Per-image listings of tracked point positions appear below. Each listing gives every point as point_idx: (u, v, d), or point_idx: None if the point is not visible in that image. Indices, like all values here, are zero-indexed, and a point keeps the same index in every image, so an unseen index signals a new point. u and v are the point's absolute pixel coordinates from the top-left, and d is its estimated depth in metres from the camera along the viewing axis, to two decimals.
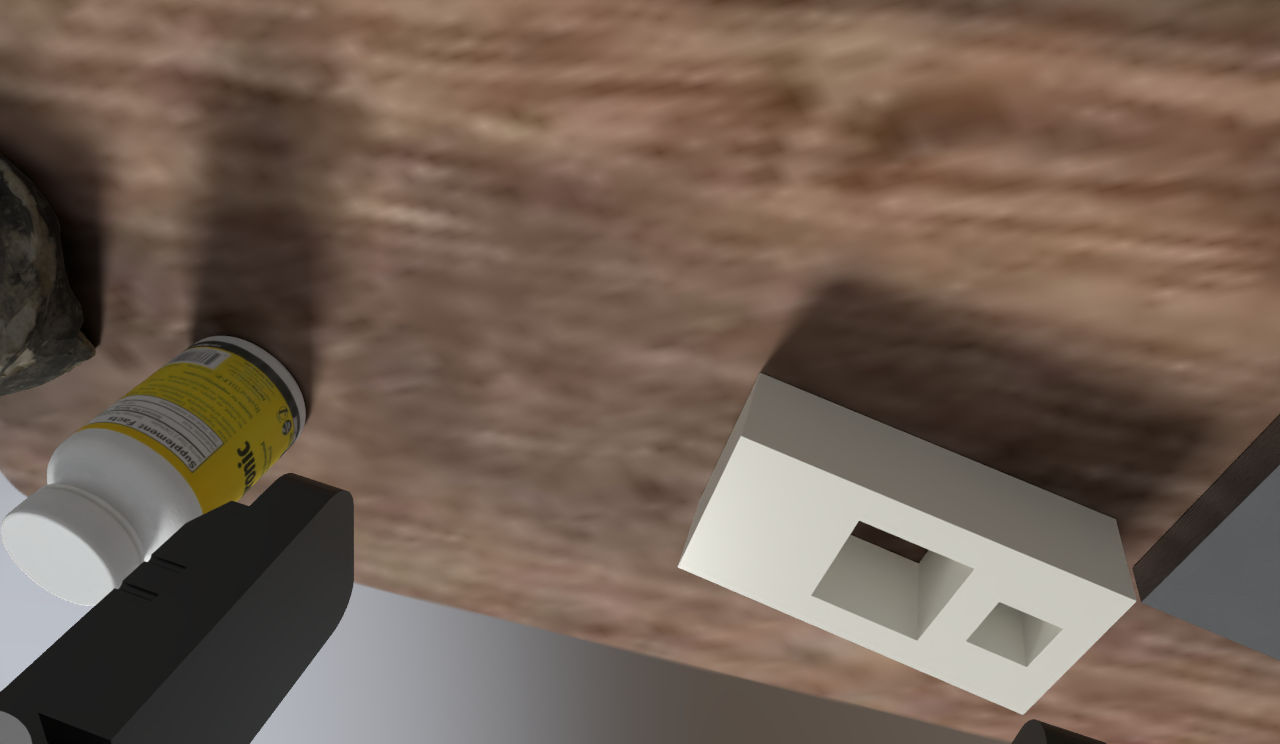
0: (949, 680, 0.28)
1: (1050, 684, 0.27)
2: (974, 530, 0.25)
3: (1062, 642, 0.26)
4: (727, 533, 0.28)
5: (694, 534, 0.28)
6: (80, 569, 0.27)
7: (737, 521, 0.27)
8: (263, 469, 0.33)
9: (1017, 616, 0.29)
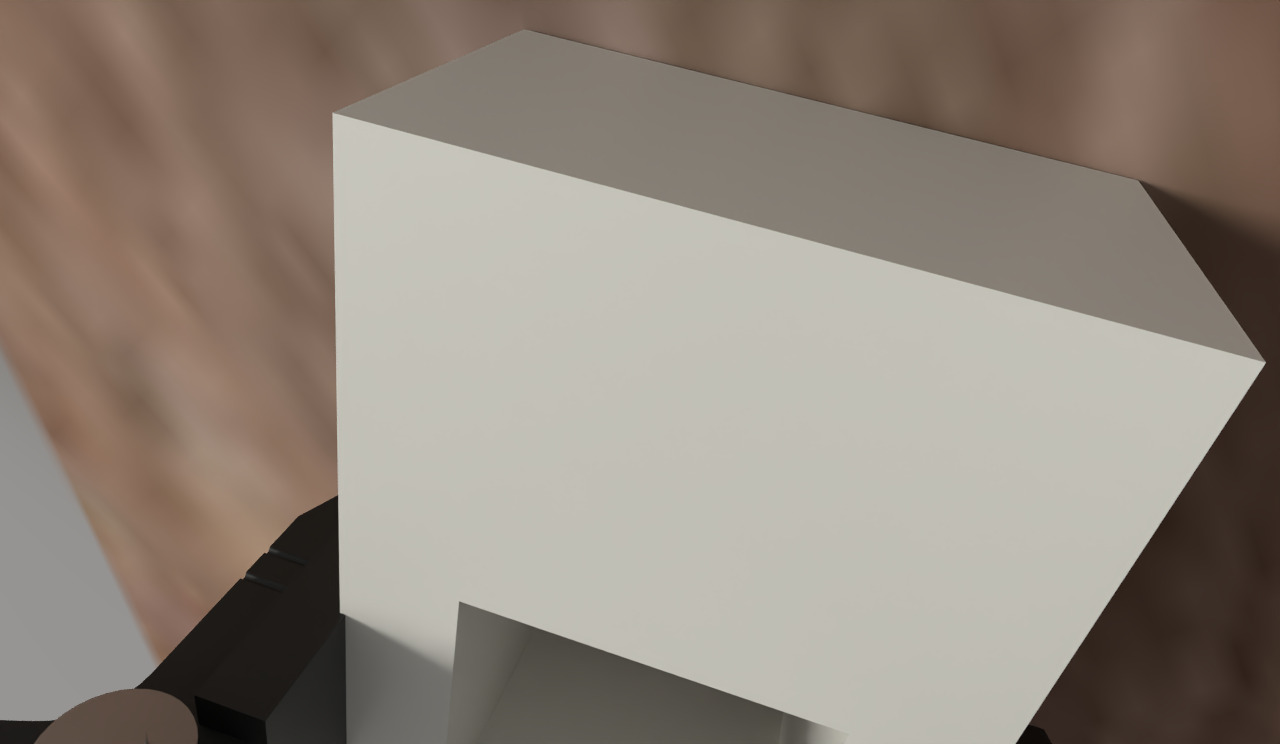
0: None
1: None
2: None
3: None
4: (629, 325, 0.06)
5: (564, 179, 0.06)
6: None
7: (715, 363, 0.06)
8: None
9: None
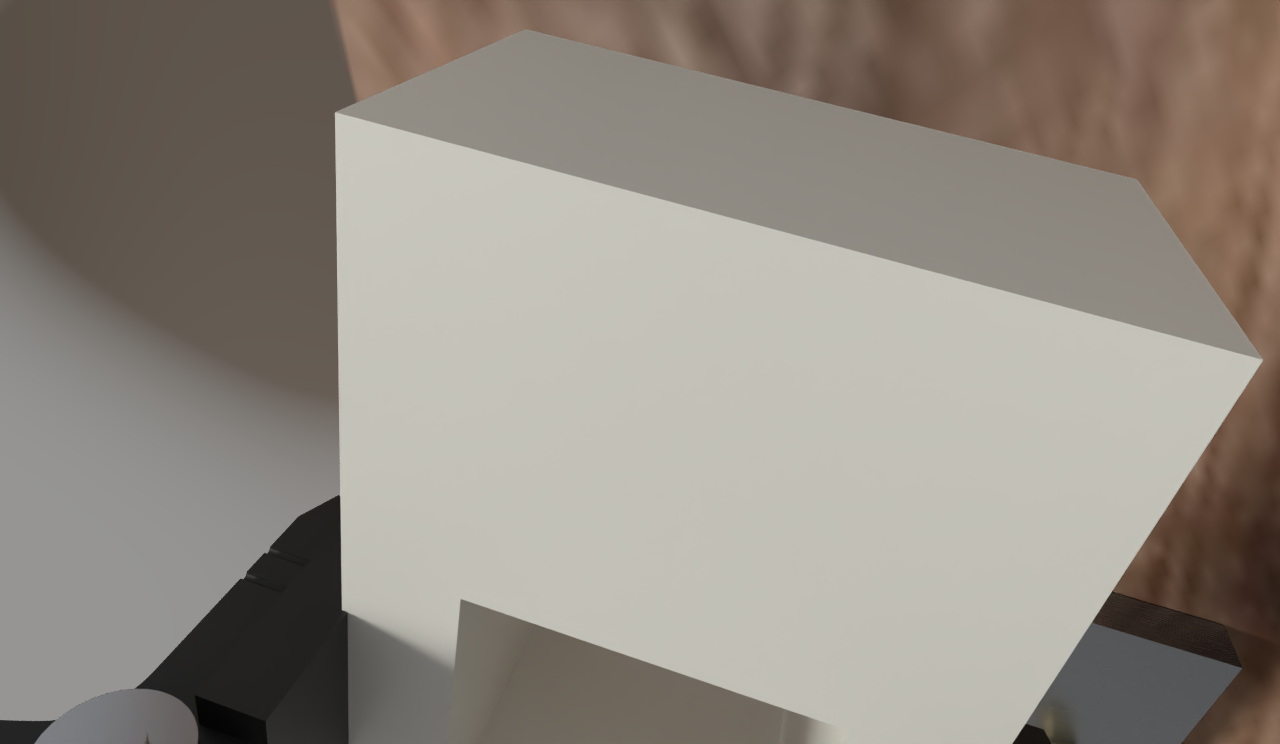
0: None
1: None
2: None
3: None
4: (632, 324, 0.06)
5: (565, 178, 0.06)
6: None
7: (714, 360, 0.06)
8: None
9: None
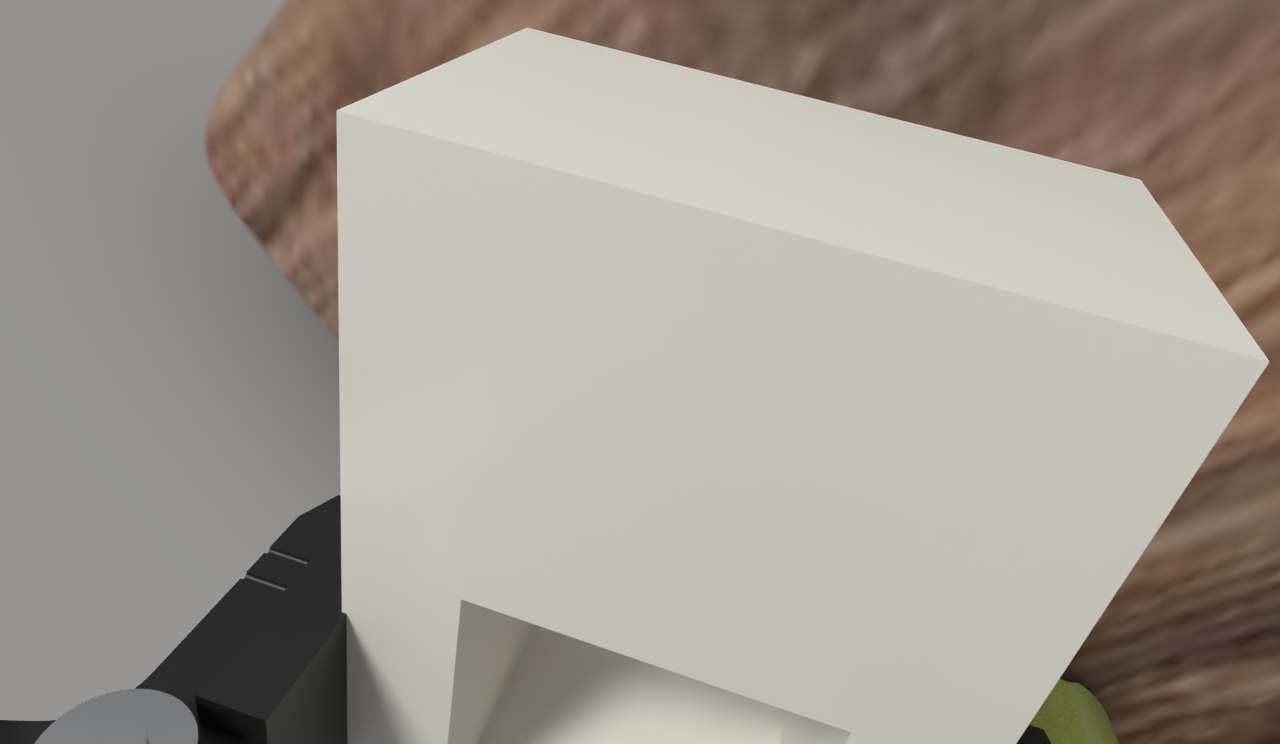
0: None
1: None
2: None
3: None
4: (635, 324, 0.06)
5: (568, 177, 0.06)
6: None
7: (719, 360, 0.06)
8: None
9: None
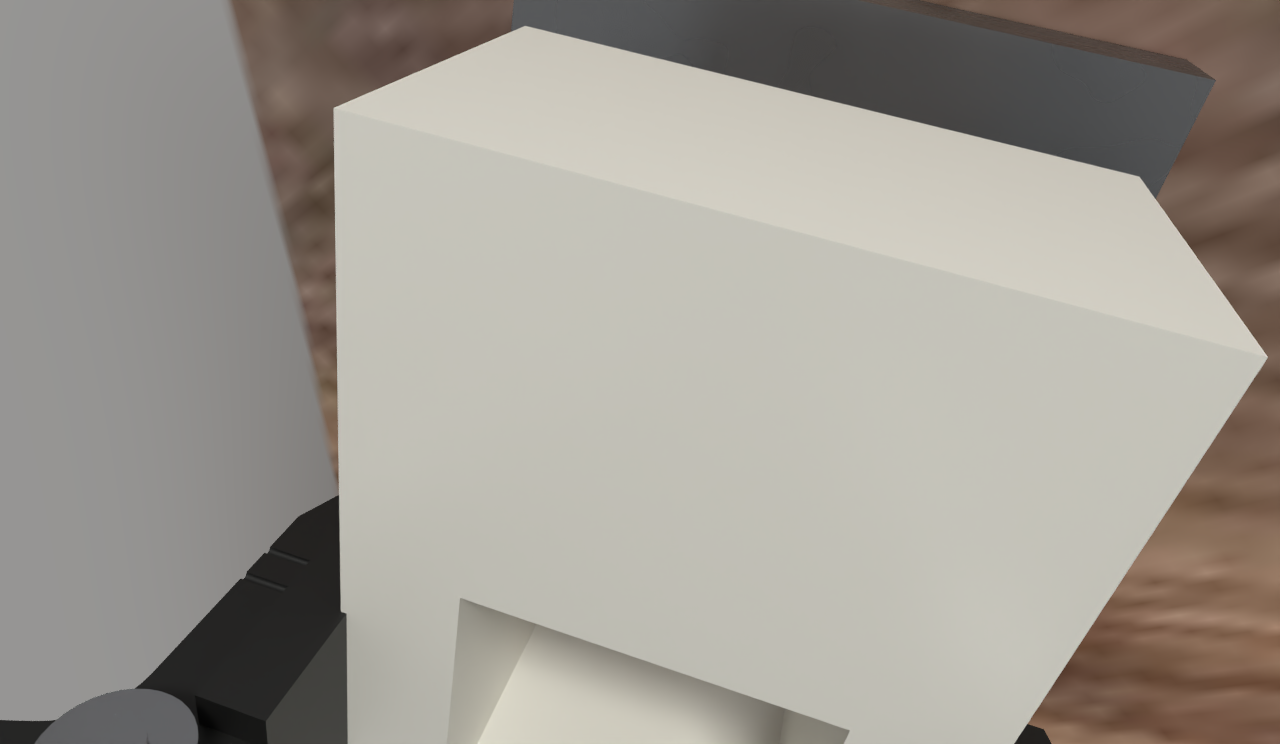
0: None
1: None
2: None
3: None
4: (632, 321, 0.06)
5: (565, 174, 0.06)
6: None
7: (716, 358, 0.06)
8: None
9: None
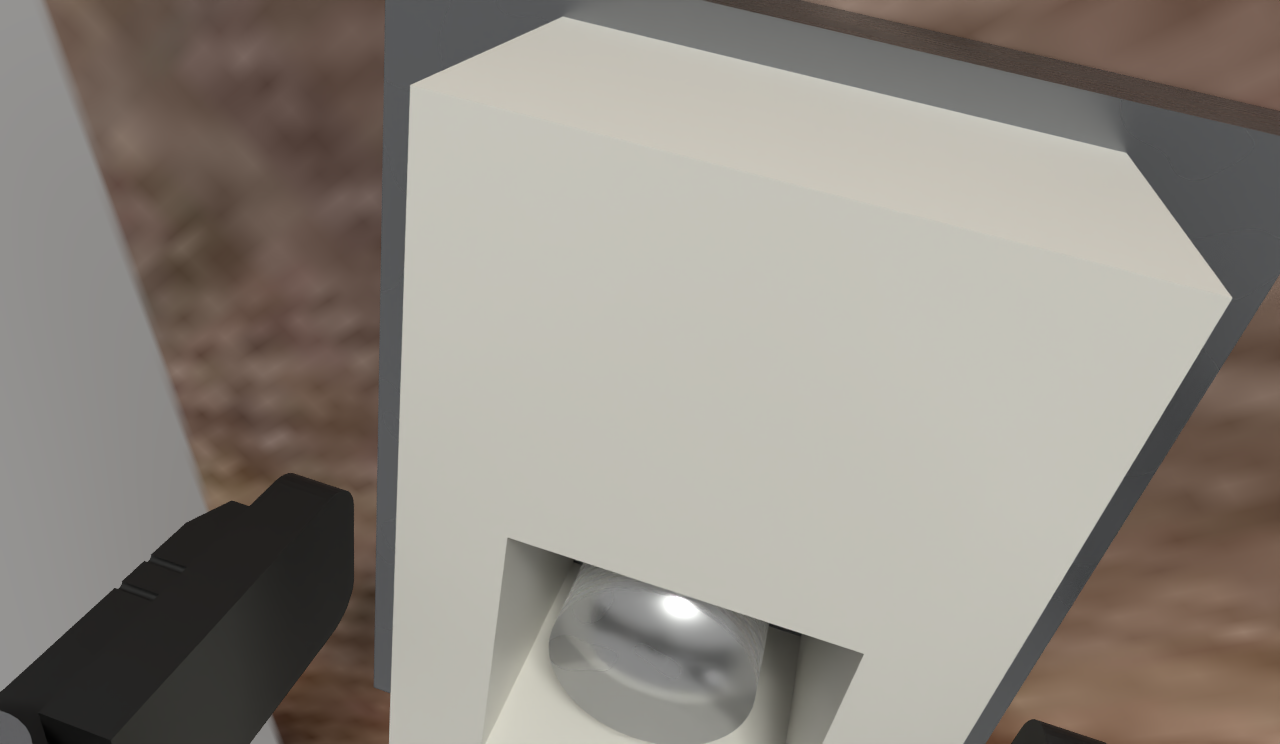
0: None
1: None
2: None
3: None
4: (673, 274, 0.07)
5: (616, 142, 0.07)
6: None
7: (748, 307, 0.07)
8: None
9: None
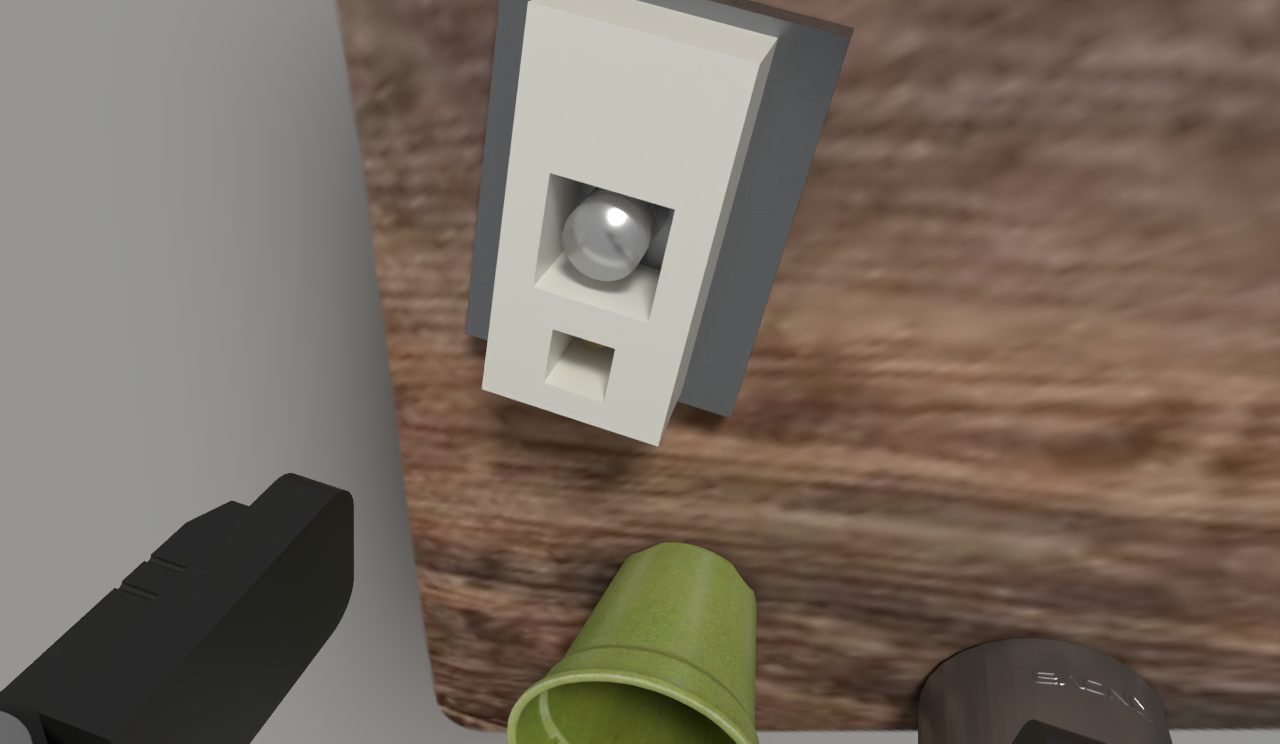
0: (494, 323, 0.27)
1: (531, 403, 0.28)
2: (693, 314, 0.25)
3: (587, 404, 0.28)
4: (607, 63, 0.22)
5: (590, 19, 0.22)
6: None
7: (630, 73, 0.22)
8: None
9: (565, 348, 0.29)
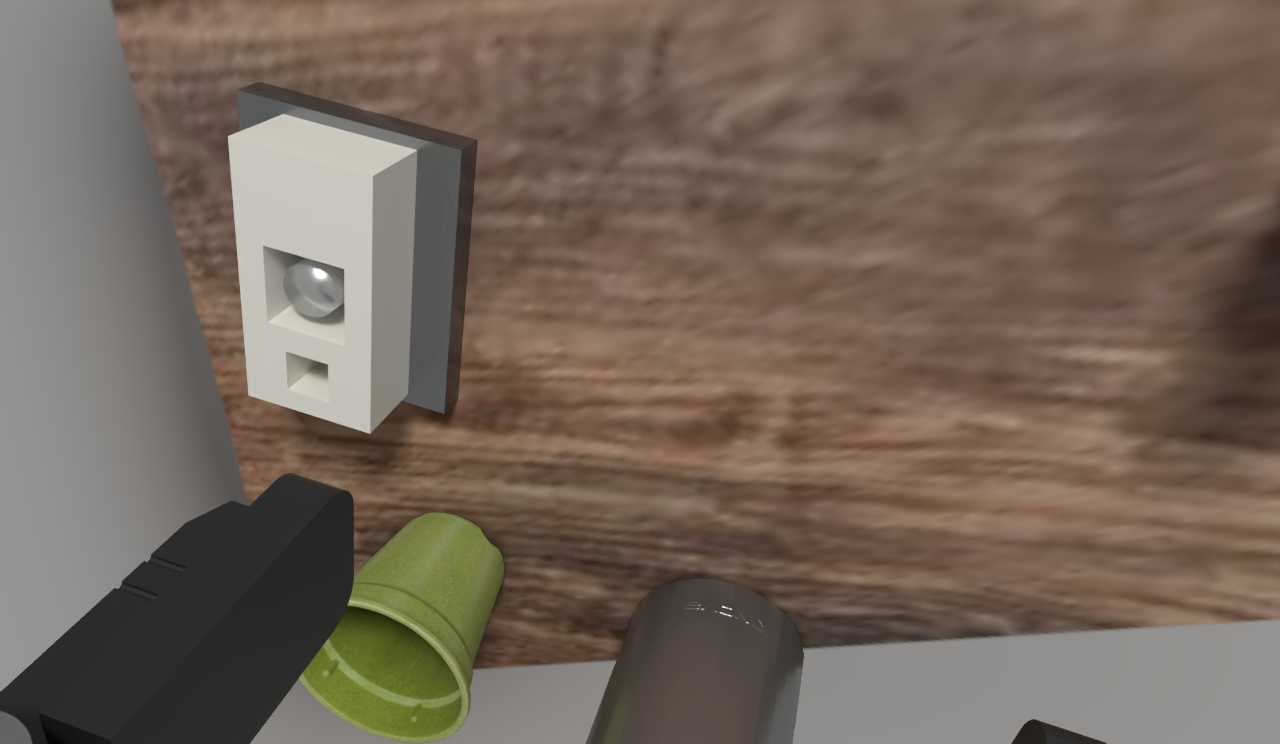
0: (248, 347, 0.38)
1: (282, 405, 0.40)
2: (372, 339, 0.37)
3: (318, 404, 0.39)
4: (283, 175, 0.34)
5: (267, 147, 0.33)
6: None
7: (298, 181, 0.34)
8: None
9: (313, 365, 0.41)
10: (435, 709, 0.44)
